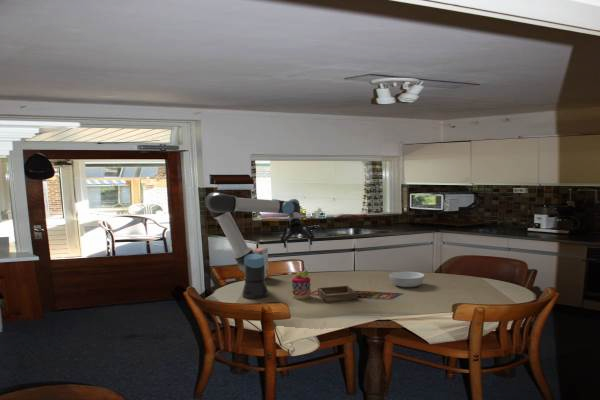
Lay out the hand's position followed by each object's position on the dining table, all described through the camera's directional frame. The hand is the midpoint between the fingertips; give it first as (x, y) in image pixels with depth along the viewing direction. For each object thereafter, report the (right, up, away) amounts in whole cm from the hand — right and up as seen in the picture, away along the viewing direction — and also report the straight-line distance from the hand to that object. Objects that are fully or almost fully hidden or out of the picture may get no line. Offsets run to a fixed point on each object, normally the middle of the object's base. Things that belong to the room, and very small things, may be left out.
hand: (298, 250), depth 272 cm
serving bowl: (+66, -23, +11) cm, 71 cm away
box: (+22, -25, -11) cm, 35 cm away
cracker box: (-26, -24, +39) cm, 53 cm away
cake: (+2, -26, -8) cm, 27 cm away
